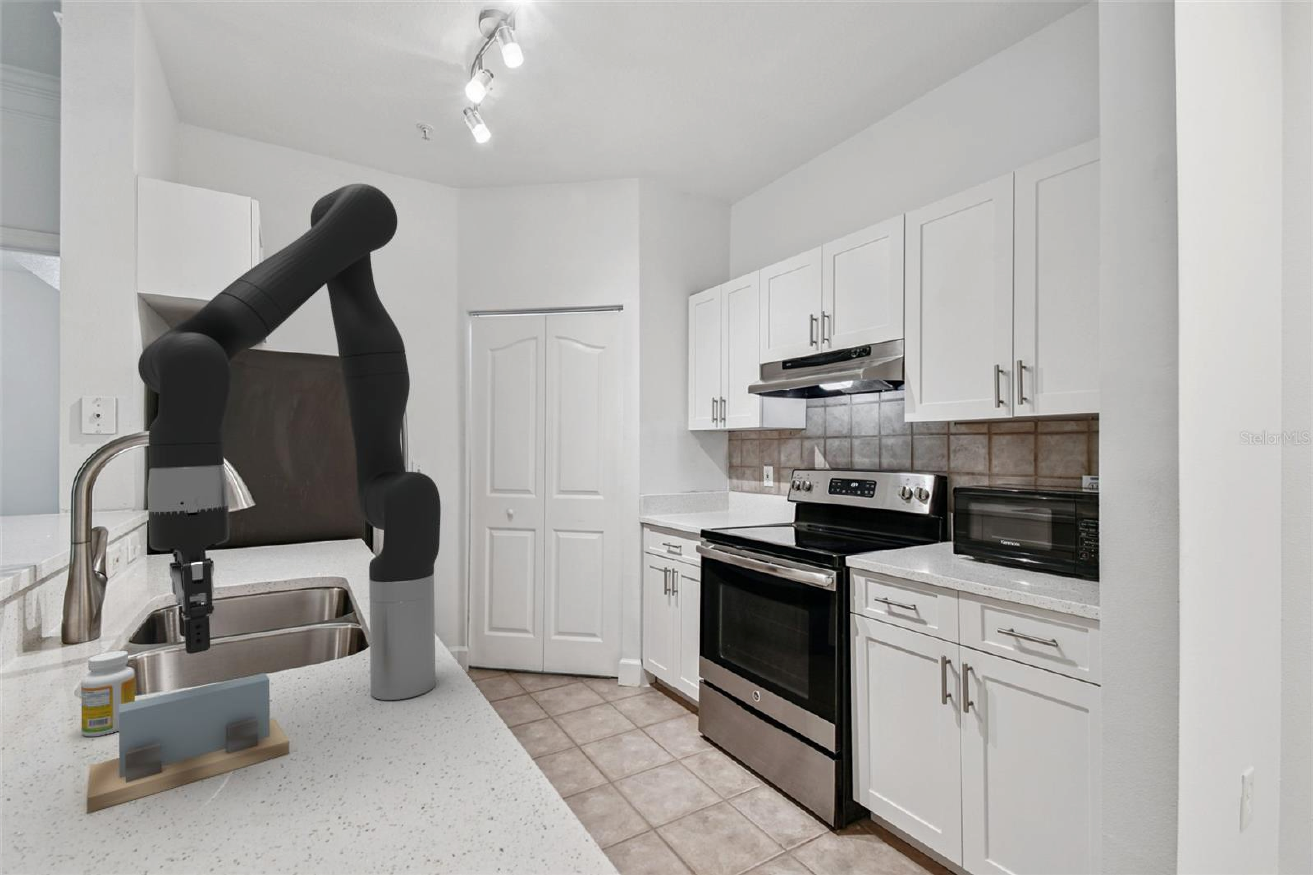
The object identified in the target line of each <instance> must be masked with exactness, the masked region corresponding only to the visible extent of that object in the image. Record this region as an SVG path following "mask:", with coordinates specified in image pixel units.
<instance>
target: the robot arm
mask: <svg viewBox="0 0 1313 875" xmlns="http://www.w3.org/2000/svg"><path fill="white" fill-rule="evenodd" d="M397 229H398V215H397V210H396V208H395V206H394V204H393V202H392V200H391V199H390V198H389V197H388V195H386V193H384V192H383V191H382V190H381V189H379V188H377V187H376V186H373V185H370V184H368V183H351V184H346V185H344V186H341V187H339V188H337V189H336V190H334V191H331V192H329V193H328V194H325V195H323V196H322V197H320V198H319V199H318V200H317V201H316V202H315V203H314V205H313V207H312V209H311V213H310V229H309V230H307V232H305V233H304V234H302V235H301V236H300V237H298V238H297V239H296V240H294V241H293V242H291V243H289V244H288V245H287V246H286V247H283V248H282V249H280V250H279V251H277V252H275V253H274V254H273V255H270V256H269V257H267V258H266V259H264V260H263V261H261V262H260V263H258V264H256V265H255V266H253V267H252V268H251V269H248V271H246V272H245V273H243V274H242V275H241V276H240V277H238V278H236V279H235V280H234V281H233V282H232V283H230V284H229V285H228V286H227V287H225V288H224V289H223V290H221V291H220V292H219V293H218V294H216V295H215V296H214V297H213V298H212V299H211V300H209V302H208V303H207V304H205V306H203V307H202V308H201V309H200V310H198V311H197V312H195V313H193V315H191V316H189V317H187V318H185V320H183V321H181V322H180V323H177V325H175V326H173V327H171V329H169V330H167V331H166V332H164V333H163V334H161V336H158V337H157V338H156V339H154V340H153V341H152V342H151V343H150V344H148V345H147V346H146V348H144V349H143V351H142V352H141V354H140V356H139V359H138V365H137V368H138V369H137V370H138V375H139V376H140V378H141V380H142V382H143V384H145V386H147V387H148V389H151V391H153V392H155V393H157V394H158V413H157V415H156V418H155V419H154V420H153V421H152V423H151V424H150V426H149V430H148V460H149V463H148V465H149V466H148V467H149V468H150V469H149V475H148V483H147V512H148V513H147V514H148V515H147V516H148V536H149V537H148V538H149V540H148V541H149V548H151V549H152V550H155V551H173V552H172V558H174V560H173V561H174V562H173V561H172V562H169V564H168V565H169V568H168V569H169V577H170V578H171V591H172V594H173V595H175V603H176V605H177V606H178V626H179V627H178V629H179V631H178V632H179V635H180V636H181V637H184V642H185V643H184V645H185V652H186V654H190V655H191V654H196V653H201V652H206V651H208V650H210V648H211V631H210V630H211V628H210V626H211V625H210V624H211V623H210V617H211V616H212V614H213V611H215V606H214V605H213V597H214V593H215V586H214V578H213V576H214V574H215V564H214V560H212V558H211V557H207V553H206V550H207V548H208V547H210V546H217V545H221V544H224V543H226V542H227V541H228V540H229V539H230V518H229V517H230V516H229V491H228V488H229V487H228V480H227V475H226V471H225V454H224V452H225V451H224V449H225V448H224V435H223V434H224V433H223V427H224V422H225V418H226V413H227V407H228V401H229V395H230V390H231V389H230V388H231V367H230V362H231V361H232V360H233V359H235V358H236V357H237V356H238V355H239V354H241V353H242V352H245V351H247V350H249V349H252V348H253V347H255V346H257V345H259V344H260V343H262V342H263V341H264V340H265V339H267V337H268V336H270V335H272V333H273V332H274V331H275V330H277V329H278V328H279V327H280V326H281V325H283V323H284V322H286V321H287V320H288V319H289V318H290V317H291V316H292V315H293V314H294V313H295V312H296V311H297V310H298V309H300V308H301V306H303V305H304V304H305V303H306V302H308V300H309V299H310V298H312V297H313V296H314V294H316V293H317V292H318V291H319V290H321V289H322V288H323V287H324V286H325V285H326V288H327V291H328V292H327V293H328V297H329V298H328V299H329V303H330V311H331V316H332V321H333V325H334V326H333V327H334V331H335V338H336V342H337V351H338V359H339V365H340V372H341V375H342V376H341V378H342V383H343V386H344V390H345V396H346V401H347V409H348V414H349V420H350V427H351V432H352V436H353V442H354V452H355V453H354V454H355V468H356V469H355V471H356V473H355V474H356V487H357V490H356V491H357V499H358V507H359V509H360V513H361V515H362V517H363V518H364V520H365V521H366V522H367V524H368V525H370V526H371V527H373V528H375V529H378V530H381V531H383V540H382V541H383V543H382V549H381V551H380V553H379V554H378V555H377V556H375V557H373V558H372V559H371V560H370V562H369V566H368V574H369V575H368V579H369V580H368V582H369V584H368V586H369V587H368V588H369V589H368V591H369V594H368V595H369V651H370V652H369V657H370V658H369V660H370V666H369V667H370V669H369V670H370V675H369V676H370V678H369V679H370V695H371V697H372V698H374V699H378V700H382V701H386V700H387V701H393V700H404V699H409V698H413V697H417V696H420V695H423V694H425V693H427V692H430V691H431V690H432V689H434V688H435V685H436V628H435V627H436V626H435V624H436V623H435V622H436V621H435V620H436V616H435V614H436V613H435V612H436V609H435V562H436V560H437V558H438V555H439V550H440V538H441V537H440V536H441V513H442V512H441V510H442V509H441V508H442V506H441V498H440V497H441V496H440V491H439V490H438V486H437V485H436V483H435V481H434V480H433V479H432V477H430V476H428V475H427V474H425V473H422V472H418V471H407V470H406V466H405V462H404V456H403V452H402V445H401V444H402V442H401V431H402V425H403V420H404V418H405V417H404V416H405V413H406V409H407V404H408V400H409V396H410V386H411V384H410V383H411V381H410V372H409V366H408V361H407V354H406V347H405V344H404V340H403V337H402V335H401V333H400V331H399V329H398V327H397V326H396V324H395V322H394V321H393V319H392V317H391V315H390V314H389V312H388V311H387V310H386V308H385V306H384V305H383V302H382V301H381V300H380V297H379V294H378V292H377V288H376V285H375V281H374V275H373V268H372V260H371V259H372V258H371V257H372V256H371V253H372V252H374V251H377V250H379V249H382V248H383V247H385V246H386V245H387V244H388V243H390V242H391V240H392V239H393V237H394V236H395V234H396V231H397ZM202 601H203V604H202Z"/></svg>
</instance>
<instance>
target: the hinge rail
mask: <svg viewBox="0 0 1313 875" xmlns="http://www.w3.org/2000/svg"><path fill="white" fill-rule="evenodd" d="M288 754H290V741H289V739H288V738H287V735H286V734H285V732H284V730H283V729H282V727H281V725H280V724H279V722H278V721H277V719H276V718H275V717H272V718H271V717H270V737H266V738H262V739H259V740H258V720H257V718H256V717H255V718H251V719H247V720H243V721H239V722H235V723H232V724H228V725H226V749H223V750H219V751H215V752H212V753H208V754H204V755H201V756H197V757H194V758H190V759H186V760H183V761H179V762H175V763H172V764H168V765H165V766H162V745H161V742H157V743H153V744H149V745H145V746H141V747H137V748H134V749H130V750H126V751H125V763H126V776H125V777H121V778H119V757H118V758H115V759H109V760H107V761H102V762H99V763H95V764H91V765H89V771H88V782H87V795H86V813H87V814H89V813H93V812H96V811H100V810H103V809H106V808H110V807H113V806H116V805H120V804H123V803H127V802H130V801H134V800H136V799H139V798H144V797H147V796H151V795H154V794H158V793H160V792H163V791H167V790H170V789H174V788H177V787H180V786H185V785H187V784H190V783H193V782H194V783H195V782H197V781H201V780H204V779H208V778H211V777H214V776H218V775H220V774H224V773H228V772H230V771H235V770H238V769H241V768H245V767H248V766H251V765H255V764H258V763H261V762H265V761H268V760H269V761H270V760H271V759H274V758H278V757H281V756H285V755H288Z"/></svg>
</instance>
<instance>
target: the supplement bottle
mask: <svg viewBox="0 0 1313 875" xmlns="http://www.w3.org/2000/svg"><path fill="white" fill-rule="evenodd" d="M128 662H129V653H128V651H125V650H118V651H110V652H104V653H101V654H97V655H94V656H91V657H90V658H88V663H87V666H88V667H87V668H88V671H89V673H87V674H86V675H85V676H84V677H83V678H82V680H81V683H80V685H81V686H80V687H81V688H80V691H81V701H80V702H81V733H82V735H83V736H84V737H101V735H102V736H106V735H105V734H107V735H110V733H111V734H114V733H113V732H115V733H117V731H118V732H119V705H120V704H124V703H129V702H133V701H136V691H135V690H136V681H135V680H136V678H135V677H136V676H135V675H136V674H135V669H134V668H132V667H129V666H127V664H128Z"/></svg>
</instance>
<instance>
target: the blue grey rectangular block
mask: <svg viewBox="0 0 1313 875" xmlns="http://www.w3.org/2000/svg"><path fill="white" fill-rule="evenodd" d="M270 707H271V705H270V678H269V676H268V675H267V674H266V673H265V672H264V673H263V672H262V673H258V674H254V675H250V676H246V677H241V678H235V679H231V680H226V681H223V682H222V681H221V682H216V683H213V684H212V683H211V684H209V685H208V684H207V685H204V686H199V687H195V688H190V689H185V690H180V691H176V692H171V693H167V694H162V695H158V696H154V697H148V698H144V699H139V700H135V701H133V702H129V703H124V704H120V705H119V731H118V739H119V740H118V741H119V742H118V749H119V750H118V758H119V778H121V777H125V776H126V763H125V751H126V750H130V749H134V748H137V747H141V746H145V745H149V744H153V743H157V742H161V745H162V766H165V765H168V764H172V763H175V762H179V761H183V760H186V759H190V758H194V757H197V756H201V755H204V754H208V753H212V752H215V751H219V750H223V749H226V725H228V724H232V723H235V722H239V721H243V720H247V719H251V718H255V717H256V718H257V720H258V740H259V739H262V738H266V737H270V719H271V717H270V716H271V715H270V714H271V713H270V712H271V710H270V709H271V708H270Z"/></svg>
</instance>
